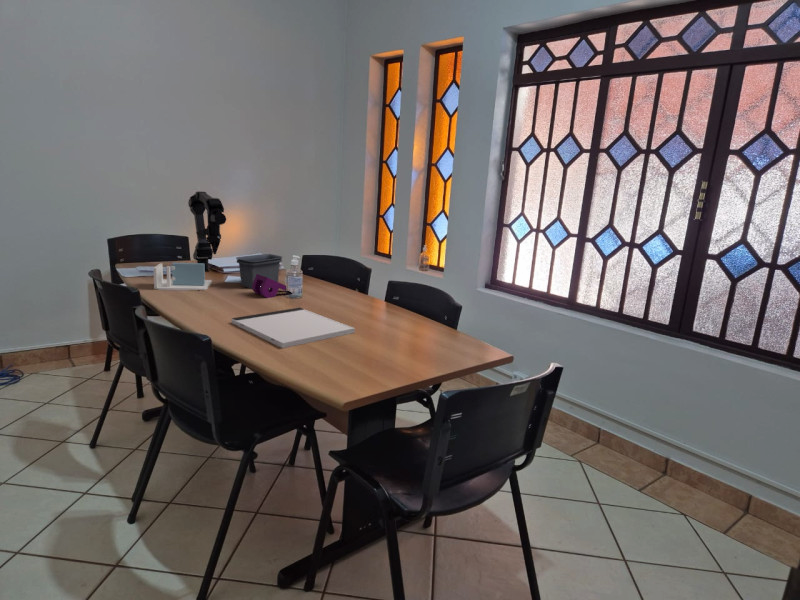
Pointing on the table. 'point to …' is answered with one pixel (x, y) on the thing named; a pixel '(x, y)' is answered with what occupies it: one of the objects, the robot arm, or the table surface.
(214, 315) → the table surface
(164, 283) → the cabinet base
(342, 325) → the white flat slab
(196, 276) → the door panel
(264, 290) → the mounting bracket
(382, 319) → the table surface
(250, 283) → the storage bin
